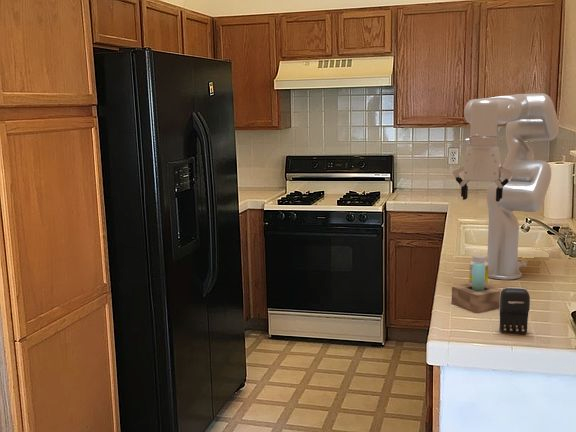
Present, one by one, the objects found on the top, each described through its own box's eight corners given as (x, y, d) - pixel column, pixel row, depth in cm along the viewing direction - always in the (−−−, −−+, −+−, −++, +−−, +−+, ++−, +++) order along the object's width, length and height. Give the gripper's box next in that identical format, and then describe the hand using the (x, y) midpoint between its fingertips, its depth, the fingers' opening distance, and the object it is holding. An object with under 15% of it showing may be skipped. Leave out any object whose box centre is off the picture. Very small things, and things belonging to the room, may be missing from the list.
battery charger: (499, 334, 157) (501, 290, 155) (497, 329, 160) (499, 286, 159) (529, 336, 155) (531, 291, 153) (526, 331, 159) (529, 287, 157)
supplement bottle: (490, 287, 197) (492, 255, 196) (482, 291, 193) (483, 258, 192) (474, 284, 201) (475, 252, 199) (465, 288, 197) (466, 256, 195)
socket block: (477, 298, 187) (478, 281, 186) (503, 307, 178) (503, 290, 177) (451, 303, 182) (451, 286, 181) (476, 313, 173) (477, 295, 172)
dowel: (481, 303, 182) (482, 262, 179) (485, 307, 178) (487, 266, 176) (469, 303, 181) (471, 263, 179) (473, 307, 178) (475, 266, 176)
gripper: (450, 142, 186) (449, 200, 189) (511, 143, 178) (509, 203, 181) (457, 141, 193) (455, 196, 196) (516, 142, 185) (513, 200, 187)
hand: (481, 200), depth 188 cm, fingers open, 9 cm apart
